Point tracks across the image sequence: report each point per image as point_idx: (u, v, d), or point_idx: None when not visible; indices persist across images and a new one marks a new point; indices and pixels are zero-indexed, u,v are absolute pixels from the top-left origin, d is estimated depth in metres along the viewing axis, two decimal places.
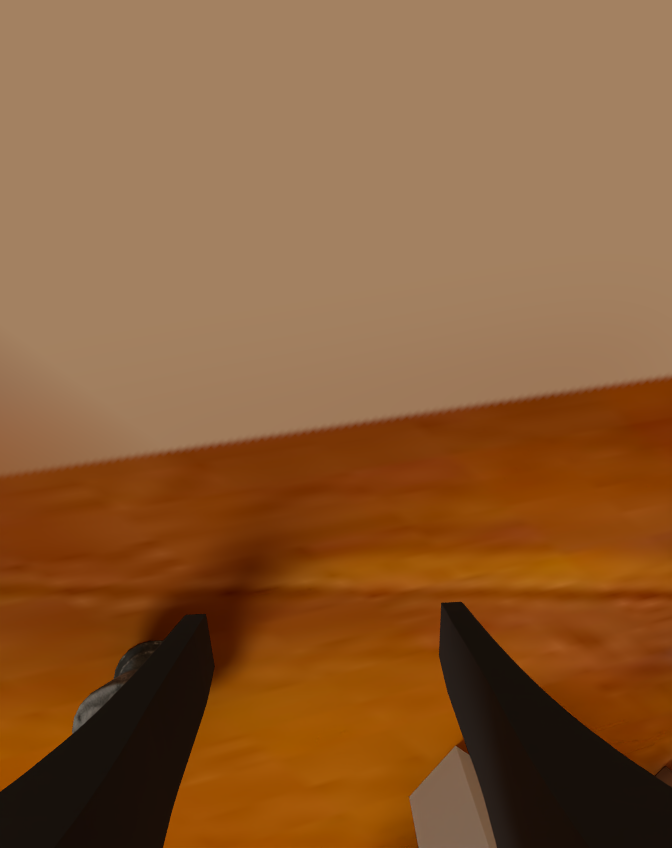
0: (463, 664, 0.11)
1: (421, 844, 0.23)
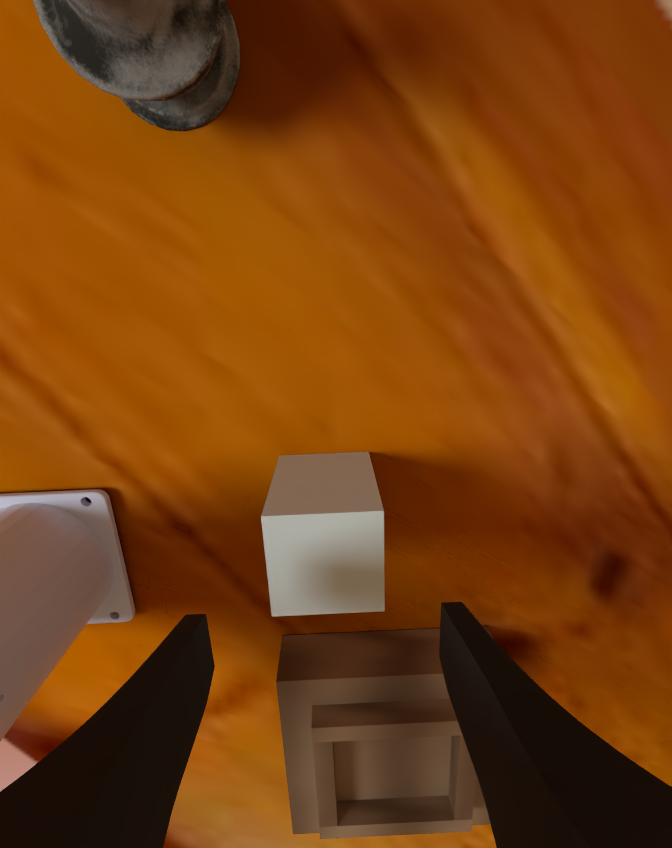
0: (463, 664, 0.11)
1: (278, 478, 0.18)
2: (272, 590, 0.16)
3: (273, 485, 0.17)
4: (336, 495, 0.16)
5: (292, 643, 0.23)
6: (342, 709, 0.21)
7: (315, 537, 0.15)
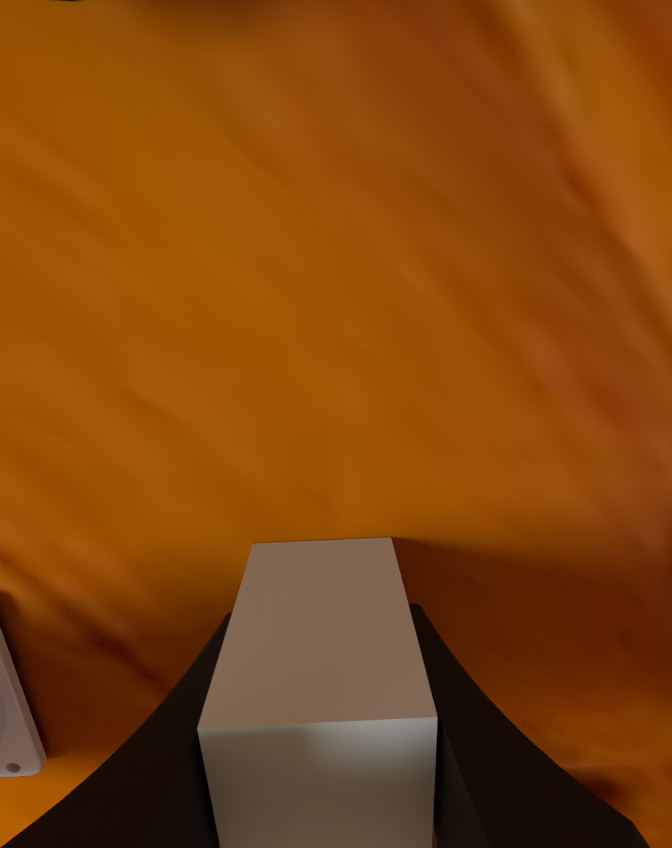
0: None
1: (244, 603, 0.11)
2: (224, 841, 0.09)
3: (233, 625, 0.10)
4: (343, 660, 0.09)
5: None
6: None
7: (304, 761, 0.08)
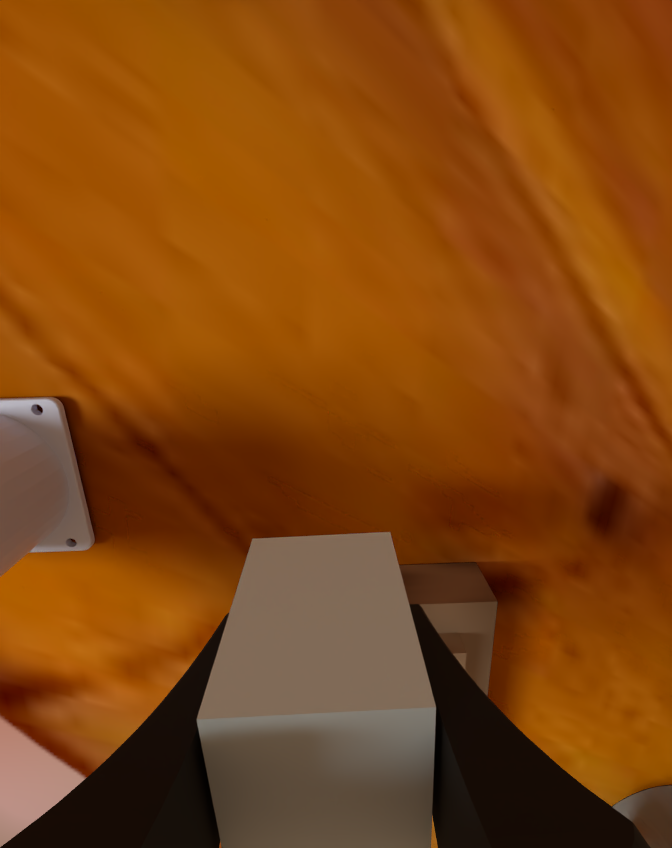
0: None
1: (243, 597, 0.11)
2: (224, 832, 0.09)
3: (233, 618, 0.10)
4: (342, 652, 0.09)
5: None
6: None
7: (303, 752, 0.08)
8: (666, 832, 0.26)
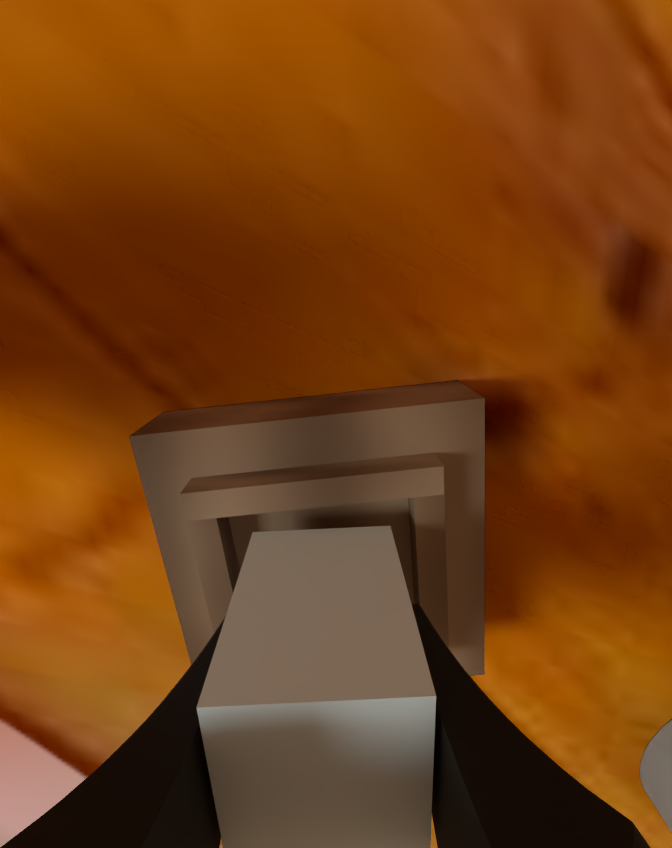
0: None
1: (244, 589, 0.11)
2: (224, 823, 0.09)
3: (233, 609, 0.10)
4: (342, 642, 0.09)
5: (173, 414, 0.16)
6: (234, 476, 0.14)
7: (304, 740, 0.08)
8: None
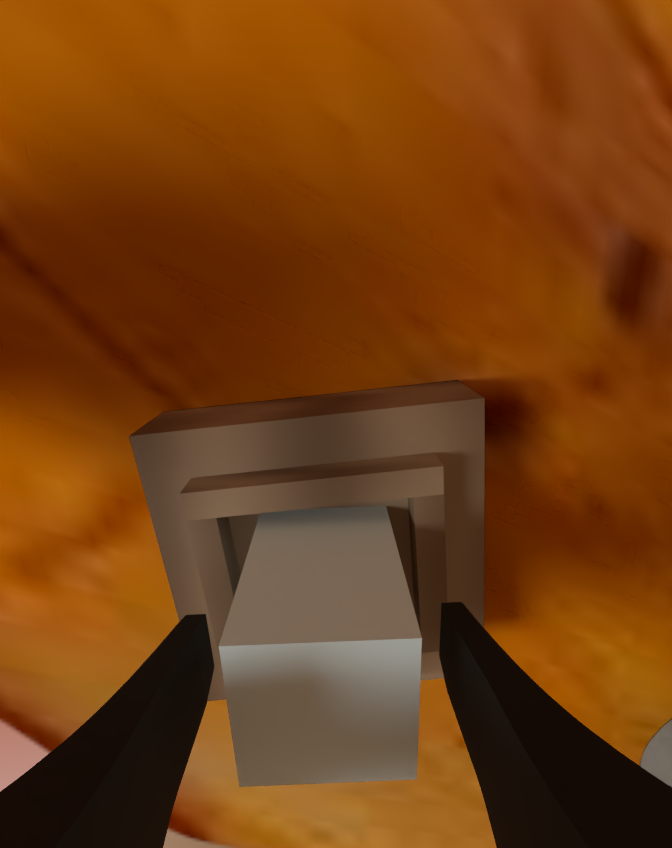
0: (463, 664, 0.11)
1: (255, 556, 0.12)
2: (239, 751, 0.10)
3: (246, 572, 0.12)
4: (342, 598, 0.10)
5: (172, 414, 0.16)
6: (234, 476, 0.14)
7: (308, 677, 0.09)
8: None
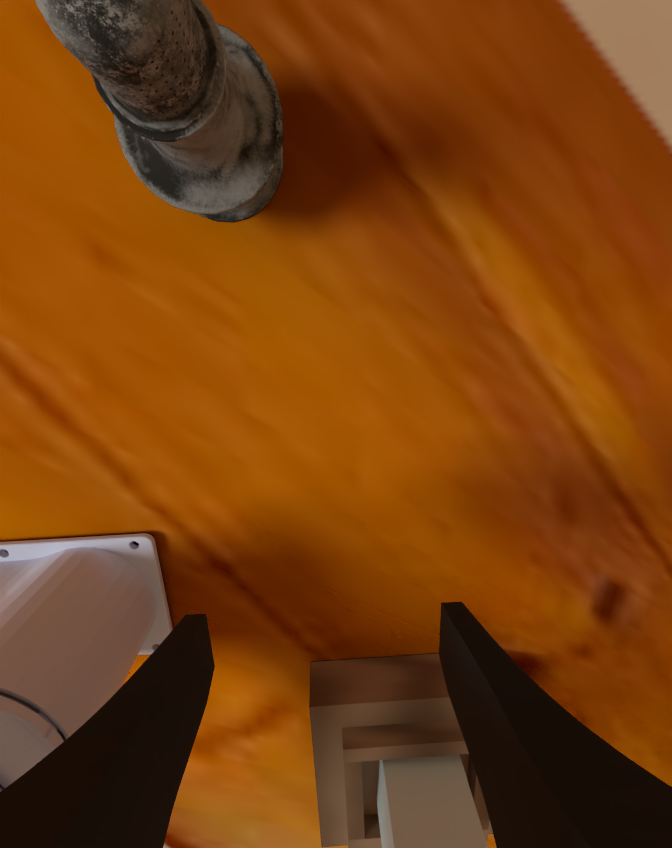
0: (463, 664, 0.11)
1: (392, 799, 0.22)
2: None
3: (392, 815, 0.21)
4: (451, 843, 0.20)
5: (320, 669, 0.25)
6: (369, 731, 0.23)
7: None
8: None
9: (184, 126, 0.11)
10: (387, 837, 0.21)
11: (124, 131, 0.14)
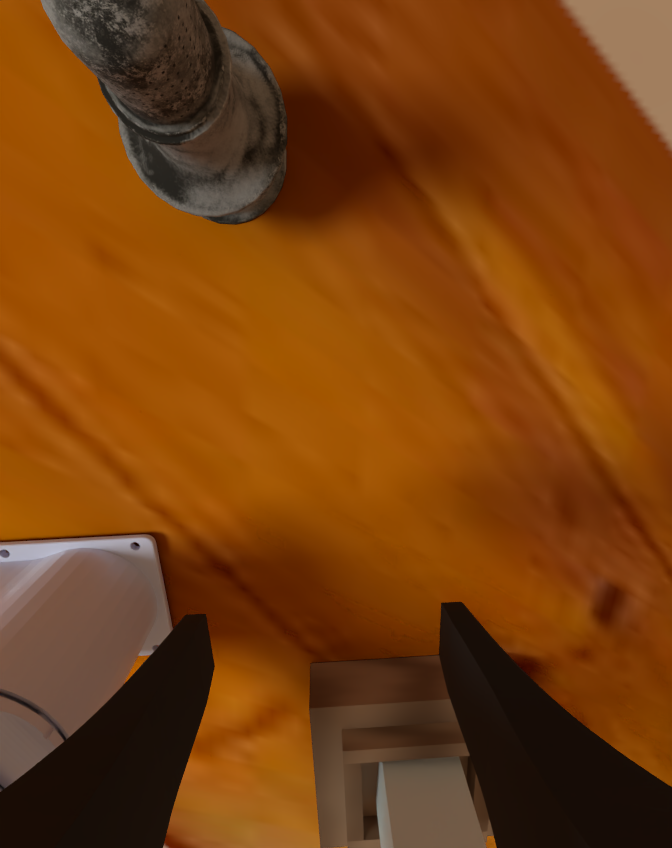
0: (463, 664, 0.11)
1: (392, 801, 0.22)
2: None
3: (392, 817, 0.21)
4: (450, 845, 0.20)
5: (320, 671, 0.25)
6: (369, 732, 0.23)
7: None
8: None
9: (189, 130, 0.11)
10: (386, 839, 0.22)
11: (129, 133, 0.14)
